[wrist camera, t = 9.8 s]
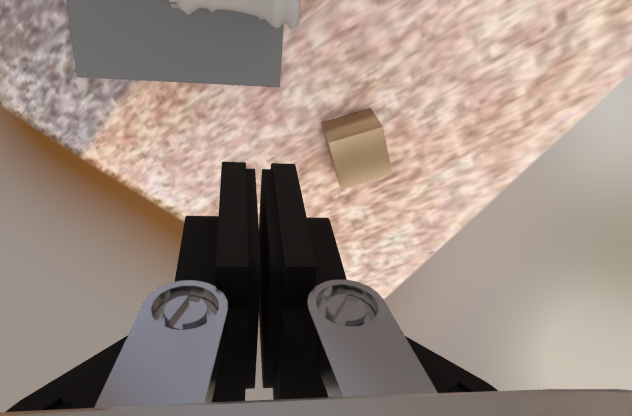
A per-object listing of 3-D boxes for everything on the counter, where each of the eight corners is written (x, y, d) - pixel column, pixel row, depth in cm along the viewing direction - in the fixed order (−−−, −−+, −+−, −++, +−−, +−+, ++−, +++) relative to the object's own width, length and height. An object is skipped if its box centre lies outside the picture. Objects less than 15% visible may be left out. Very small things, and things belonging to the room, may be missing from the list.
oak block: (320, 122, 40) (328, 142, 37) (370, 107, 40) (382, 126, 37) (333, 166, 42) (341, 189, 39) (379, 152, 42) (392, 174, 39)
